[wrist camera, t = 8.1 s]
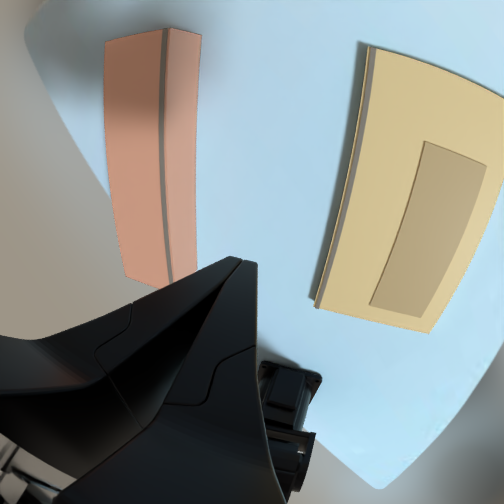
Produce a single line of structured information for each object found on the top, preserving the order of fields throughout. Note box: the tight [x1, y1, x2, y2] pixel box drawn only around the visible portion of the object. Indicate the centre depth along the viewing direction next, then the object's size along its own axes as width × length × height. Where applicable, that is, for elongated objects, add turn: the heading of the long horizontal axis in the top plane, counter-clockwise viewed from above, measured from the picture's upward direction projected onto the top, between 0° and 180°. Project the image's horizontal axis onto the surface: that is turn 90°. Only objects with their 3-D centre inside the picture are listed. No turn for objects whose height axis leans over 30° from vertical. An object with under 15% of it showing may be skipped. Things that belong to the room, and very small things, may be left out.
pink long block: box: [104, 28, 202, 289], centre depth 18 cm, size 18×5×4 cm, turn 176°
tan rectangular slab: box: [313, 47, 504, 334], centre depth 15 cm, size 18×10×1 cm, turn 176°
